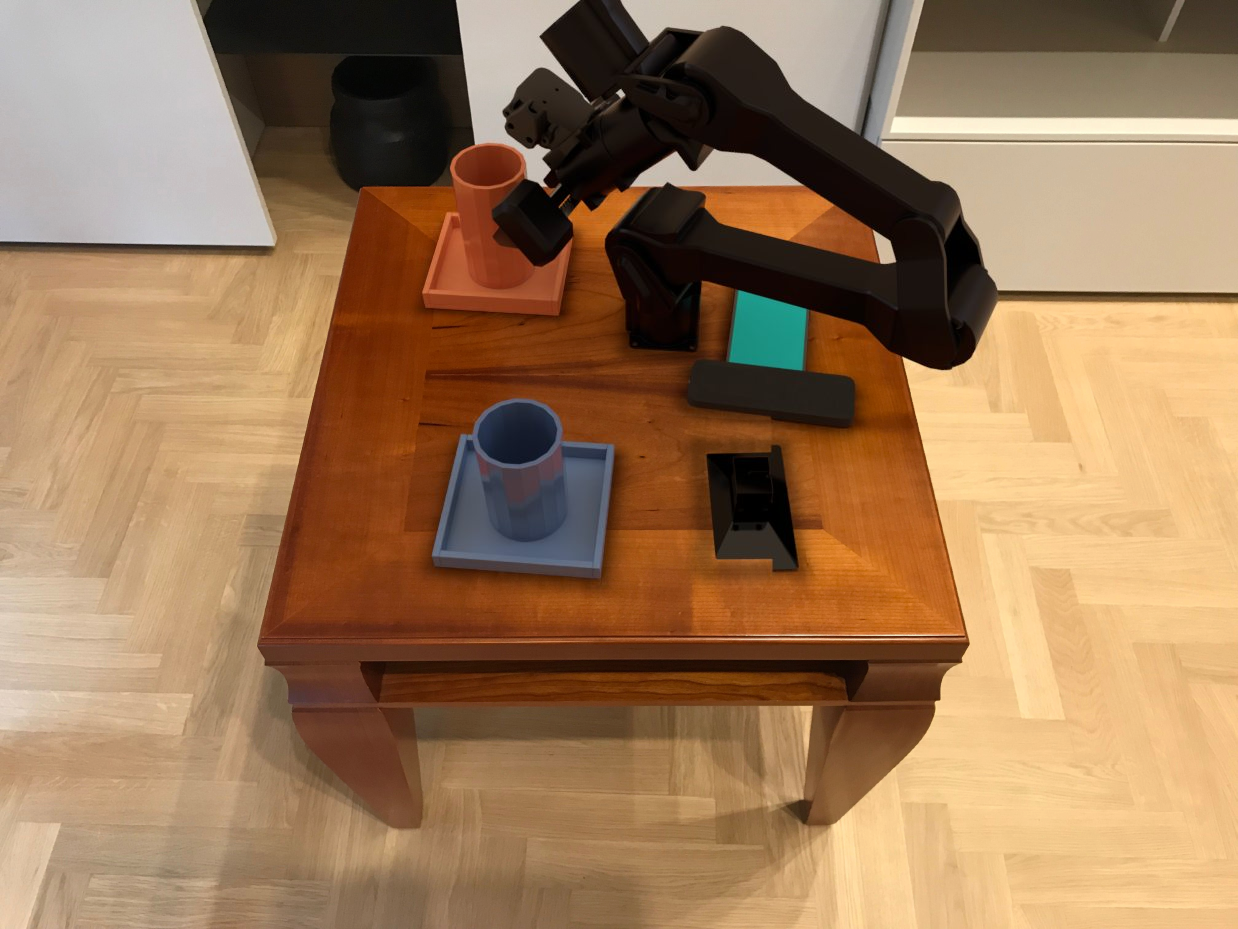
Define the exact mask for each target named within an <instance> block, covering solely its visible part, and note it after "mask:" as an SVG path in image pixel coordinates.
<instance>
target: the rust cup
mask: <svg viewBox="0 0 1238 929" xmlns="http://www.w3.org/2000/svg"><path fill="white" fill-rule="evenodd" d="M449 171H450V177H451V184H452V188H453V193H454V194H453V195H454V200H455V204H456V205H455V206H456V211H457V212H456V213H458V218H459V223H460V229H461V235H462V241H463V246H464V252H465V258H466V264H467V267H468V272H469V275H470V277H471V278H472V279H473V280H474V281H475V282H476V283H478V284H479V285H481V286H483V287H487V288H491V289H507V288H512V287H515V286H518V285H520V284H522V283H523V282H525V281H526V280H528V279H529V278H530V277H531V275H532V274H533V272H534V269H535V266H533V264H532V263H531V262H530V261H529V260H528V259H527V258H526V256H525V255H524V254H523V253H522V252H521V251H520V250H519V249H516V248H510V247H505V246H500V245H499V244H498V243H497V242H496V241H495V240H494V239H493V237H492V236H493V235H494V233H495V232H496V231H497V229H498V228H499V226H498V225H497V224H496V223H495V222H494V220H493V219H492V212H491V210H492V209H493V208H494V206H495V205H496V204H497V203H498V202H499V201H500V200H501V199H502V198H503V197H504V196H505V194H506V193H507V192H508V191H509V190H511V189H512V188H513V187H514V186H515V185H516V184H517V183H519V182H520V181H521V180H523V179H524V178H525V179H528V180H529V177H528V168H527V161H526V159H525V156H524V154H523V153H522V152H521V151H519V150H518V149H516V148H515V147H513V146H510V145H507V144H504V143H498V142H485V143H478V144H474V145H471V146H468V147H467V148H465V149H462V150H461V151H459V152H458V153H457V154H456V155H455V156H454V157H453V158H452V160H451V163H450V167H449Z"/></svg>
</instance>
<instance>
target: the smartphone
mask: <svg viewBox="0 0 1238 929" xmlns="http://www.w3.org/2000/svg"><path fill="white" fill-rule="evenodd" d="M734 293H735V294H734V300H733V308H732V314H731V322H730V330H729V336H728V343H727V351H726V359H725V362H734V363H742V364H751V365H759V366H768V367H776V368H784V369H793V370H801V371H806V366H807V352H808V351H807V350H808V338H809V327H810V320H811V318H810V314H811V310H808V309H804V308H801V307H797V306H793V305H790V304H786V303H783V302H779V301H775V300H772V299H768V298H765V297H761V296H757V295H754V294H750V293H747V292H743V291H739V290H736V289H735V292H734Z"/></svg>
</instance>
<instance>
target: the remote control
mask: <svg viewBox="0 0 1238 929" xmlns="http://www.w3.org/2000/svg"><path fill="white" fill-rule="evenodd" d="M687 382H688V384H687V392H686V402H687V404H688V405H689V406H691V407H693V408H698V409H706V410H715V411H723V412H731V413H739V414H747V415H756V416H763V417H770V419H771V420H778V421H786V422H793V423H794V422H795V423H801V424H803V423H804V424H811V425H819V426H826V427H835V428H849V427H851V426H852V425H853V423H854V419H855V407H856V406H855V405H856V383H855V380H854V379H853V378H852V377H851V376H848V375H845V374H844V375H843V374H834V373H827V372H826V373H825V372H817V371H811V370H805V371H801V370H793V369H784V368H776V367H768V366H759V365H751V364H742V363H734V362H726V360H715V359H708V358H700V359H697V360H696V361H694V362H693V365H692V367H691V370H690V373H689V379H688V381H687Z"/></svg>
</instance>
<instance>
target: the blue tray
mask: <svg viewBox="0 0 1238 929" xmlns="http://www.w3.org/2000/svg"><path fill="white" fill-rule="evenodd" d="M615 445H616V444H614V443H602V442H601V443H598V442H585V441H570V440H569V441H568V440H564V451H565V463H566V475H567V487H568V499H569V501H568V513H567V516H566V519H565V520H564V522H563V524H562V525H561V526H560V527H559V528H558V529H557V530H556V531H555V532H554V533H553V534H551V535H549V536H548V537H545V538H543V539H540V540H536V541H529V542H522V541H516V540H512V539H509V538H507V537H505V536H503V535H502V534H500V533H499V532H498V531H497V530H496V529H495V528H494V527H493V525H492V523H491V521H490V519H489V515H488V511H487V507H486V502H485V497H484V493H483V488H482V483H481V478H480V473H479V468H478V464H477V459H476V454H475V449H474V444H473V440H472V434H467V433H460V436H459V440H458V445H457V449H456V452H455V457H454V461H453V465H452V470H451V473H450V478H449V482H448V486H447V491H446V494H445V498H444V503H443V508H442V510H441V515H440V519H439V524H438V529H437V532H436V536H435V540H434V544H433V548H432V553H431V559H432V562H433V565H434V567H442V568H453V569H469V570H482V571H494V572H505V573H506V572H507V573H519V574H520V573H521V574H532V575H547V576H559V577H574V578H584V579H585V578H587V579H599V580H600V579H601V578H602V577H601V576H602V569H603V562H604V553H605V552H604V551H605V544H606V534H607V526H608V525H607V524H608V516H609V508H610V500H611V491H612V482H613V473H614V463H615V456H616V452H615V450H616V448H615Z"/></svg>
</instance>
